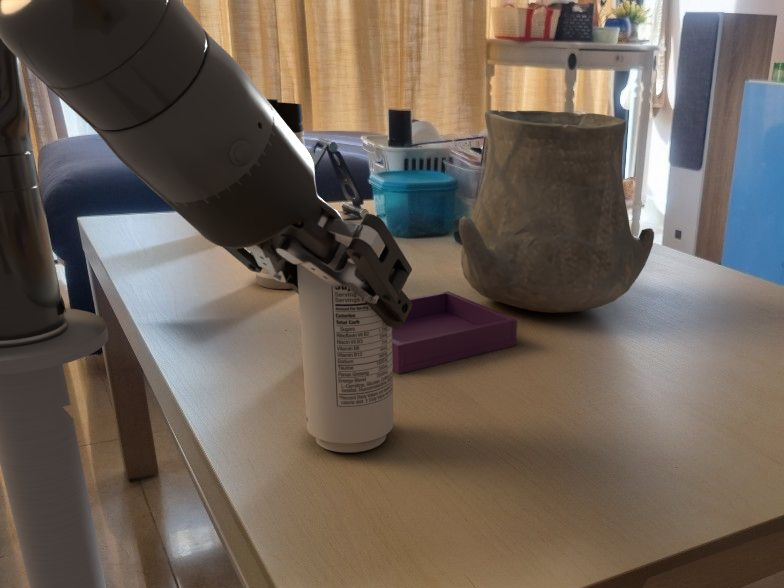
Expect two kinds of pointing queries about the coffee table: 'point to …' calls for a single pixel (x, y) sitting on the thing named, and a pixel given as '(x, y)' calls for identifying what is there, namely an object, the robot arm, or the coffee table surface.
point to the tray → (448, 331)
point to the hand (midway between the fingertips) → (362, 306)
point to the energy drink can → (344, 364)
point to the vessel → (552, 214)
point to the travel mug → (294, 119)
